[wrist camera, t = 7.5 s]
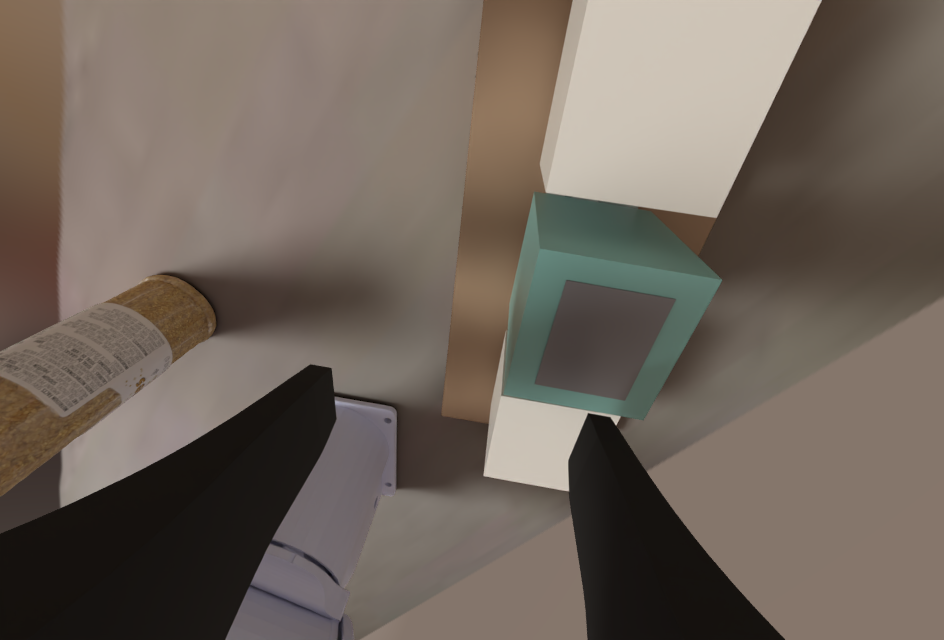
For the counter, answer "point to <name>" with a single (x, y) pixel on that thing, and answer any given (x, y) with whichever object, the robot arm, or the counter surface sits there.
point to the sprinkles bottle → (92, 368)
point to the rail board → (509, 189)
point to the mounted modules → (645, 148)
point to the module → (600, 306)
